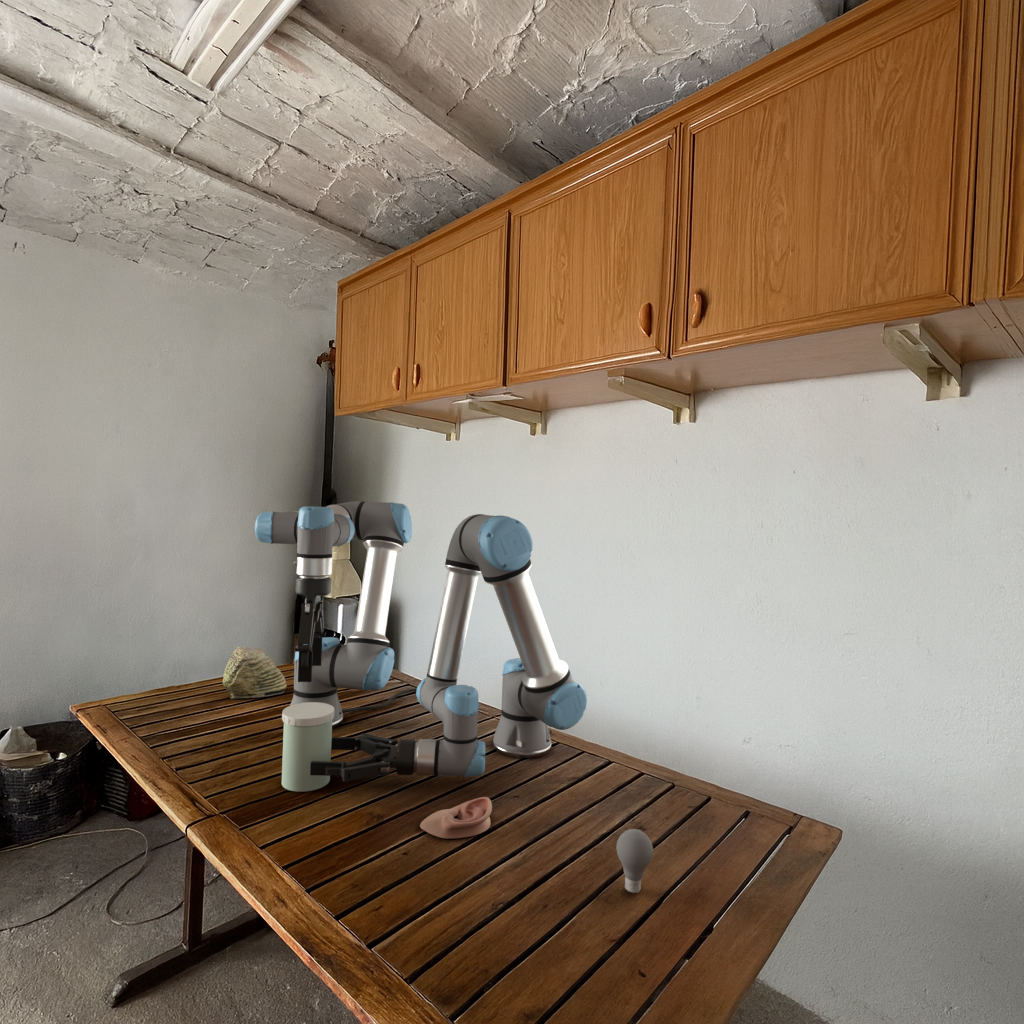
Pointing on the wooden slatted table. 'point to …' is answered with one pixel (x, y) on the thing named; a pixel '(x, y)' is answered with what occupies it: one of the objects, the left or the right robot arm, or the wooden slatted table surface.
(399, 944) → the wooden slatted table surface
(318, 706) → the lid
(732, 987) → the wooden slatted table surface
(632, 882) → the light bulb
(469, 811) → the anatomical model
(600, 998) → the wooden slatted table surface
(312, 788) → the jar
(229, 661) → the fossil
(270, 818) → the wooden slatted table surface
